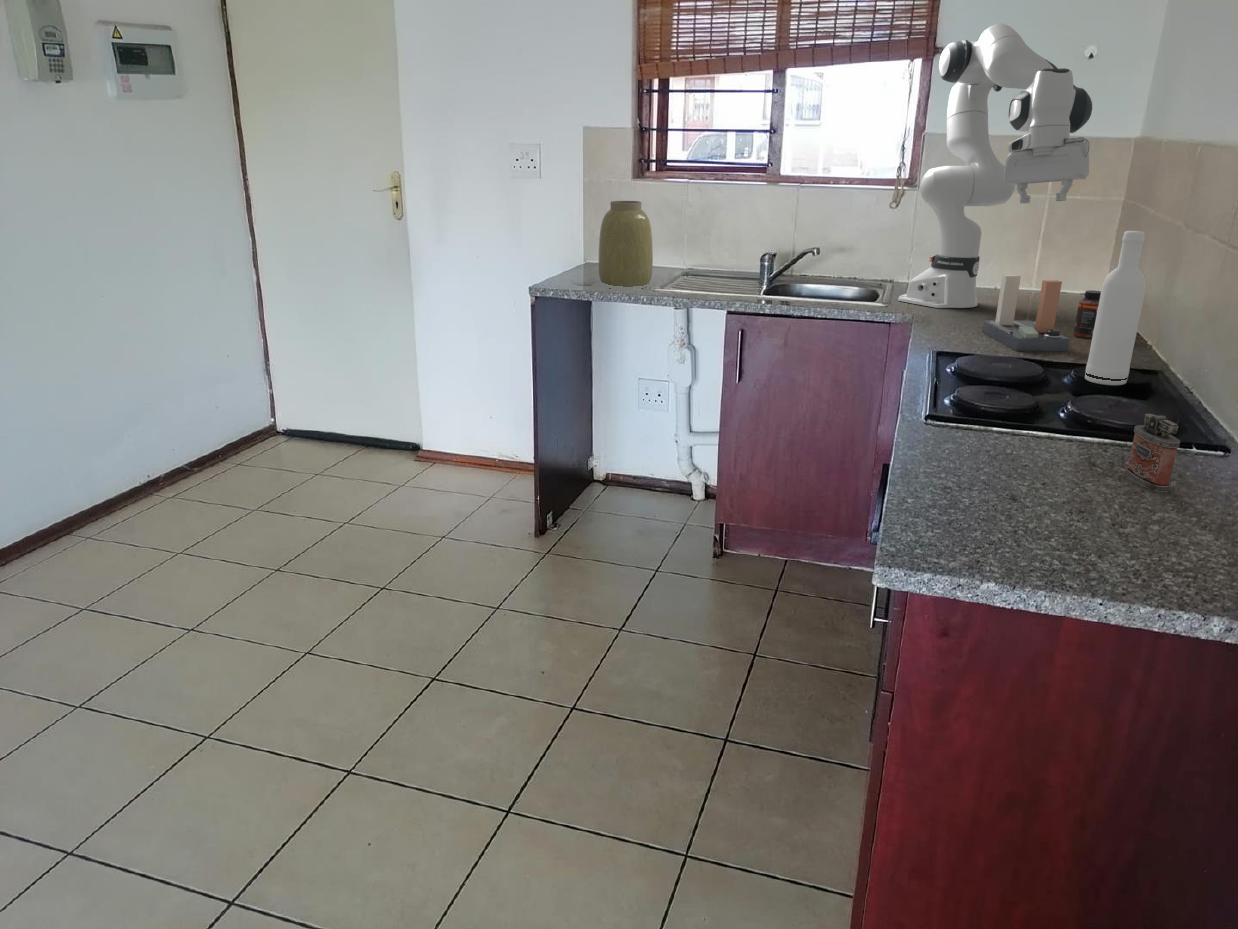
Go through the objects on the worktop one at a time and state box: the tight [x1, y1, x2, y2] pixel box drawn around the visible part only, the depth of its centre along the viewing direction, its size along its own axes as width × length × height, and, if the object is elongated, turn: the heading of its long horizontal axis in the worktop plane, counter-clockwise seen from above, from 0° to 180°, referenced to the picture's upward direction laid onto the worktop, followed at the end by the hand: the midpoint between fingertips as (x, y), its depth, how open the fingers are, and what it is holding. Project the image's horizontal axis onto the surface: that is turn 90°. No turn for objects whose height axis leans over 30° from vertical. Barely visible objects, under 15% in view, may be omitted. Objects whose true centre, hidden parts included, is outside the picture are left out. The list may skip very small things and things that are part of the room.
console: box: [981, 319, 1070, 352], centre depth 221 cm, size 21×12×4 cm, turn 0°
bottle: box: [1084, 230, 1147, 386], centre depth 182 cm, size 8×8×30 cm
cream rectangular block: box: [994, 274, 1021, 325], centre depth 223 cm, size 2×4×12 cm
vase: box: [598, 200, 654, 289], centre depth 286 cm, size 17×17×27 cm
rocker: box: [1018, 327, 1039, 338], centre depth 212 cm, size 4×3×1 cm
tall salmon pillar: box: [1035, 279, 1063, 332], centre depth 215 cm, size 2×4×12 cm
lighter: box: [1124, 413, 1181, 493], centre depth 132 cm, size 8×3×10 cm, turn 5°
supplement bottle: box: [1073, 289, 1101, 339], centre depth 225 cm, size 6×6×11 cm
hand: (1042, 202), depth 216 cm, fingers open, 8 cm apart
